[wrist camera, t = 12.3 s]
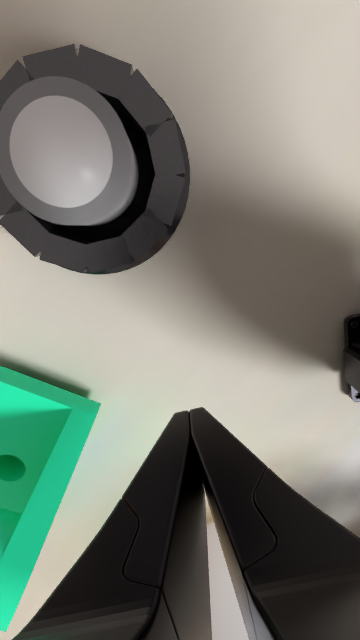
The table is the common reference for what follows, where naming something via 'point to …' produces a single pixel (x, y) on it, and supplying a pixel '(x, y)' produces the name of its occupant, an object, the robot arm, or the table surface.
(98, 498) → the table surface
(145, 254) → the dark grey ashtray
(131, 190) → the cap
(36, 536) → the camera mount
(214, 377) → the table surface
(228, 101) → the table surface
